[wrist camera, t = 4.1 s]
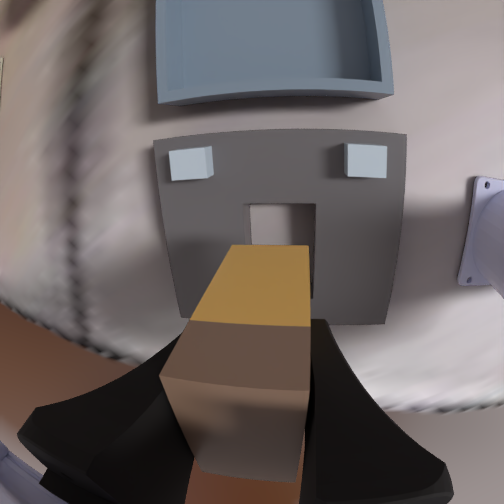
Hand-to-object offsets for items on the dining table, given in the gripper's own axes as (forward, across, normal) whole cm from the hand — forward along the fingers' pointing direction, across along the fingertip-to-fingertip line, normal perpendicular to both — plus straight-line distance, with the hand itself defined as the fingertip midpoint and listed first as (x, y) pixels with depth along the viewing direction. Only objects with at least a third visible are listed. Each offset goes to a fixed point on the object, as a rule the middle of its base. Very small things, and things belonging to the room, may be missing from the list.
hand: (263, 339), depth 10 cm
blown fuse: (+3, 0, 0) cm, 3 cm away
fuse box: (+10, 0, -1) cm, 10 cm away
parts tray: (+10, 0, -15) cm, 18 cm away
